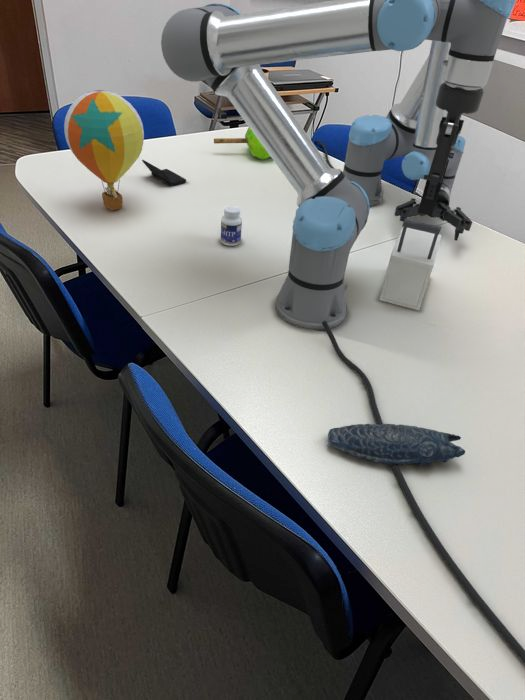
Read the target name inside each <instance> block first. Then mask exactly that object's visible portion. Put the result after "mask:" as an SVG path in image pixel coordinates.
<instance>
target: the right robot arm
mask: <svg viewBox="0 0 525 700" xmlns="http://www.w3.org/2000/svg"><path fill="white" fill-rule="evenodd" d="M516 1H517V0H512V2H511V6H510V10H509V13H510V12H511V11H512V10H513V8H514V6H515V4H516ZM450 46H451V43H450V42H441V41H433V40H431V44H430V50H429V54H428V56H427V58H426V59H425V61H424V63H423V64H422V66H421V68H420V69H419V71H418V73H417V74H416V76H415V77H414V80H413V81H412V83H411V84H410V86H409V88H408V89H407V91H406V93H405V94H404V96H403V98H402V99H401V101H400V102H399V103H395V104H393V105H392V106H391V108H390V110H389V112H388V113H387V114H386V116H383V115H377V114H372V115H369V114H367V115H362V116H359V117H357V118H355V119H354V120H353V122H352V123H351V125H350V130H349V133H348V141H347V147H346V152H345V158H344V165H343V170H342V172H343V174H344V175H345V176H346V178H347V179H348V180H349V181H353V182H355V183H357V184H358V185H360V186H361V187H362V188H363V189H364V191H365V192H366V194H367V196H368V199H369V205H370V207H374V206H378V205H379V204H381V202H382V200H383V196H384V193H385V189H383V185H382V184H383V183H382V172H383V168H384V163H385V161H389V160H393V159H396V158H400V157H401V158H402V157H403V159H402V160H401V171H402V173H403V175H404V176H405V177H406V179H409V180H410V181H418V180H424V179H423V178H424V175H428V174H429V171H430V168H431V165H432V161H433V158H434V154H435V151H436V148H437V145H436V140H437V136H438V133H439V125H440V122H441V120H442V117H447V114H448V112H447V111H446V110H442V109H440V108H438V107H437V106H436V99H437V95H438V91H439V88H440V85H441V84H442V83H444V82H445V81H444V80H443V79H442V77H443V73H444V70H445V68H447V67H446V66H443V65H442V62H443V61H444V60H448V55H449V54H448V53H449V50H450ZM313 144H319V145H320V146H321V147H322V149H323V150H324V151H323V152H324V157H325V161H326V162H327V164H328V165H329V167H331V168H334V169H336V168H335V167H334V166H333V164H331V162H330V160H329V156H328V155H329V154H328V151H327V147H326V146H325V145H324V144H323V143H322V142H321V140H319V139H316V140H315V141H313ZM465 146H466V139H465V138H464V137H463V136H462V135H460V134H459V135H458V138H457V141H456V144H455V147H454V148H453V149H452V151H451V153H454V156H453V159H450V158H448V159H449V162H448V166H447V169H446V172H445V176H444V179H443V182H442V186H441V189H440V192H439V194H438V197H437V200H436V204H435V207H434V210H433V214H432V216H430V215H425V214H421V213H418V209H419V206H420V202H418V201H417V199H416V198H415V197H414V198H413V197H412V198H411V199H410V200H408V201H406V202H404V203H401V204H399V205H397V206H396V207H395V211H394V217H399V222H402V225H401V228H402V227H403V223H404V220H405V219H409V218H413V217H418V216H419V217H425V216H426V217H429V218H433V219H434V218H435V219H439V220H441V221H442V222H444V221H445V222H447V223H448V224H450V225H451V226H453V227H454V228H455V230H454V241H458V239H459V236H460V234H464V232H465V231H466V232H470V230H471V227H472V225H473V221H472V220H471V218H469V217H468V216H467V215H466V214H465V212H463V210H462V208H461V207H459V206H456V208H451V207H450V201H451V194H452V190H453V186H454V183H455V179H456V176H457V172H458V169H459V167H460V163H461V161H462V157H463V154H464V149H465Z"/></svg>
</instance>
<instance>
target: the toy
mask: <svg viewBox="0 0 525 700" xmlns="http://www.w3.org/2000/svg"><path fill="white" fill-rule="evenodd" d="M63 128H64V130H63V131H64V132H63V133H64V137H65V141H66V144H67V146H68V148H69V150H70V151H71V152H72V154H73V156H75V158H76V159H77V161H78V162H80V163H81V165H83V166H84V167H85V168H86V169H87V170H88V171H90V172H91V173H92V174H93V175H94V176H96V177H97V178H98V179H100V180H101V183H102V184H101V185H102V187H103V191H102V193H101V198H102V203H103V205H104V207H105V208H106V209H108V210H109V211H110V212H113V211H118V210H121V209H122V208H123V203H124V201H123V195H122V194H121V193H120V192H119V191H118V190H119V188H120V183H118V182H120V181H121V178H122V177H123V176H124V175H125V174H126V173H127V172H128V171H129V170H130V169H131V167H133V165H134V164H135V163H136V161H137V160H138V159H139V158H140V155H141V153H142V150H143V147H144V141H145V131H144V130H145V129H144V125H143V121H142V119H141V116H140V114H139V113H138V111H137V109H136V108H134V106H133V105H132V103H130V102H129V101H128V100H127V99H126V98H124V97H123V96H122V95H119V94H117V93H115V92H112V91H109V90H102V89H101V90H100V89H98V90H92V91H87V92H85V93H82V95H79V96H78V97H77V98H76V99H75V100H73V102H72V103H71V105H70V107H69V108H68V111H67V112H66V114H65V118H64V124H63ZM104 183H105V184H106V185H107V186H106V187H105V186H104ZM115 183H118V185H117V190H116V188H115Z"/></svg>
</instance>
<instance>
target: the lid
mask: <svg viewBox="0 0 525 700" xmlns="http://www.w3.org/2000/svg"><path fill="white" fill-rule="evenodd" d="M402 225H403V227H402V226H401V230H400V232H399V235H398V238H397V239H396V241H395V244H394V245H393V246H394V247H393V249H392V251H391V253H390V257H389V260H390V259H392V260H396V261H400V262H404V263H409V264H413V265H417V266H421V267H425V268H429V269H432V270H433V269H434V266H435V263H436V258H437V254H438V250H439V247H440V243H441V241H442V240H441V239H442V234H440V233H441V231H442V226H441V225H436V224H432V223H426V222H422V221H418V220H414V219H409V218H408V219H405V220H404V223H403V222H402Z"/></svg>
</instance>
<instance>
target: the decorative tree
mask: <svg viewBox="0 0 525 700" xmlns="http://www.w3.org/2000/svg"><path fill="white" fill-rule="evenodd" d="M213 144H246V145H247V147H248V149H249V151H250V153H251V155H252V156H253V157H255V158H258V160H259V159H260V160H263V161H264V160H266V159H268V158H271V156H270V155H269V154H268V152H267V151H266V149H265V148H264V147H263V145H262V144H261V143H260V141H259V140H258V138H257V137H256V136H255V134H254V133H253V132H252V130H251V129H250V128H249V127H248V128H247V130H246V132H245V134H244V137H243V138H242V137H237V138H235V137H234V138H233V137H231V138H230V137H227V138H226V137H225V138H223V137H222V138H213Z"/></svg>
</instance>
